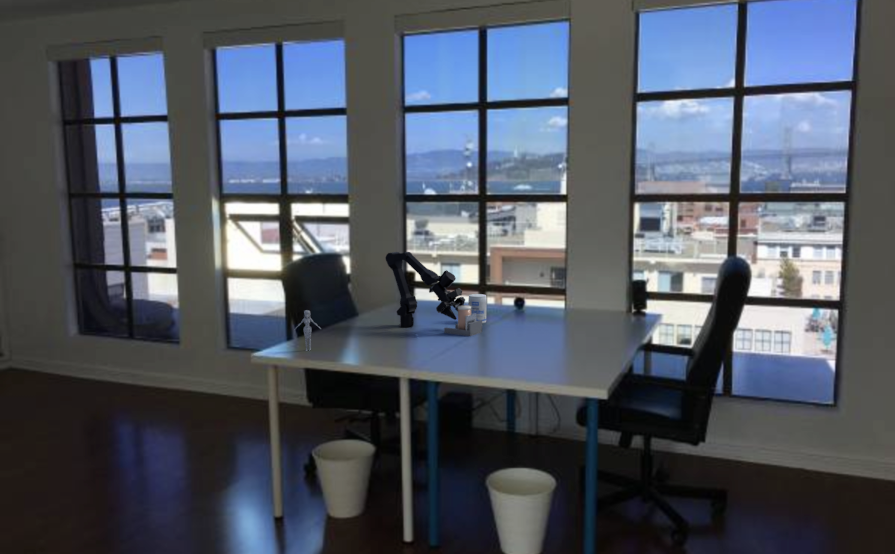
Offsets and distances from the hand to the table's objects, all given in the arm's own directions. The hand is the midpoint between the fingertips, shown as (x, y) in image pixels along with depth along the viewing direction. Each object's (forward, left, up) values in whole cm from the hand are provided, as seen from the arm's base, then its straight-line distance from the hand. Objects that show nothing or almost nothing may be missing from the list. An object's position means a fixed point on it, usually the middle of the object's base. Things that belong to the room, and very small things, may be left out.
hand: (461, 317), depth 347 cm
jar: (+1, -1, -7) cm, 8 cm away
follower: (+4, -4, -8) cm, 9 cm away
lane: (+1, -1, -8) cm, 8 cm away
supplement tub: (+14, +24, -8) cm, 29 cm away
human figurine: (-74, -18, -8) cm, 77 cm away
